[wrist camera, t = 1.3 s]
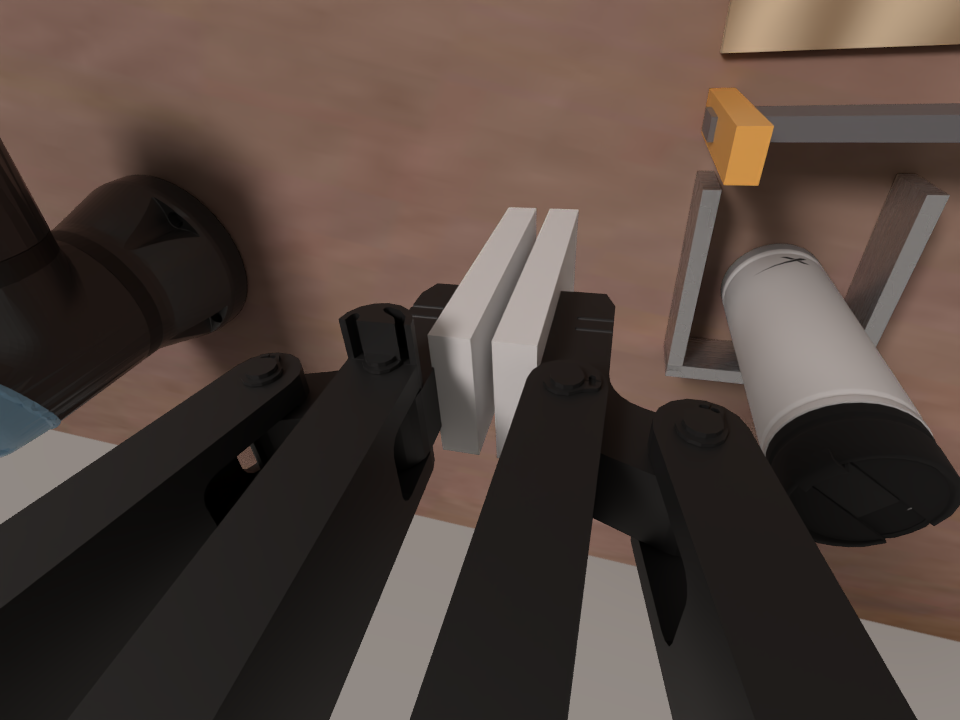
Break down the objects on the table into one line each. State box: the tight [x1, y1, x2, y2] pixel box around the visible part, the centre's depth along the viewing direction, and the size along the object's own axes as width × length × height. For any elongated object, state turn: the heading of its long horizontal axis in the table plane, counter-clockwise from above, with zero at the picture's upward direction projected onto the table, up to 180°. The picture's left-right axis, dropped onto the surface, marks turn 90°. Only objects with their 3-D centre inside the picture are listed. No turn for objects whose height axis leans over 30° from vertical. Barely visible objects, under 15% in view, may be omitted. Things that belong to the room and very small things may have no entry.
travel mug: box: [721, 244, 960, 547], centre depth 27 cm, size 6×7×20 cm
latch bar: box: [701, 88, 960, 186], centre depth 24 cm, size 13×2×11 cm, turn 93°
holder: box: [664, 171, 950, 384], centre depth 33 cm, size 12×14×4 cm
